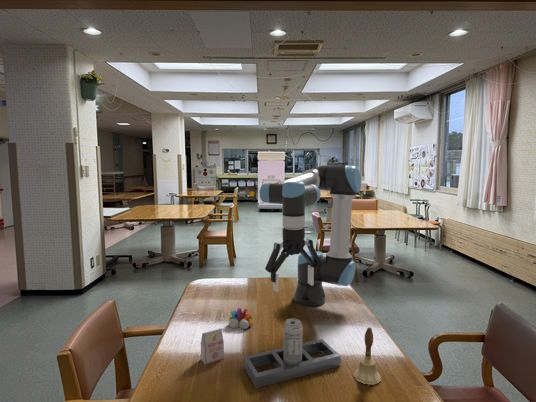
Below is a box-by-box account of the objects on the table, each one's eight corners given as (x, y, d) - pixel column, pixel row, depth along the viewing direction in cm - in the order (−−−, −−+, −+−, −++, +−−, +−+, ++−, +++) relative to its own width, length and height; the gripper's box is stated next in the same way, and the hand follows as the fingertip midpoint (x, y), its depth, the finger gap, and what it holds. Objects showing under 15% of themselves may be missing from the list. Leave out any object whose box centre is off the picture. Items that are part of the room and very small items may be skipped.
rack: (321, 348, 123) (321, 338, 123) (340, 365, 112) (340, 355, 112) (243, 366, 112) (243, 356, 111) (256, 388, 101) (256, 377, 101)
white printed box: (201, 359, 116) (200, 331, 115) (219, 353, 119) (219, 326, 118) (205, 364, 113) (204, 335, 112) (223, 358, 116) (223, 330, 115)
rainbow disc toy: (249, 331, 135) (249, 314, 134) (226, 329, 137) (226, 311, 136) (255, 321, 143) (255, 305, 142) (232, 319, 145) (232, 303, 144)
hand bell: (349, 369, 110) (351, 322, 109) (375, 368, 111) (377, 321, 109) (358, 386, 102) (360, 335, 100) (385, 385, 103) (388, 334, 101)
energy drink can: (303, 362, 114) (304, 319, 112) (299, 372, 108) (299, 327, 107) (286, 358, 116) (286, 316, 114) (280, 368, 110) (281, 324, 109)
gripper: (319, 221, 124) (318, 278, 127) (255, 228, 114) (256, 289, 117) (331, 225, 117) (330, 285, 120) (264, 233, 107) (264, 298, 110)
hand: (293, 287), depth 119 cm, fingers open, 13 cm apart
